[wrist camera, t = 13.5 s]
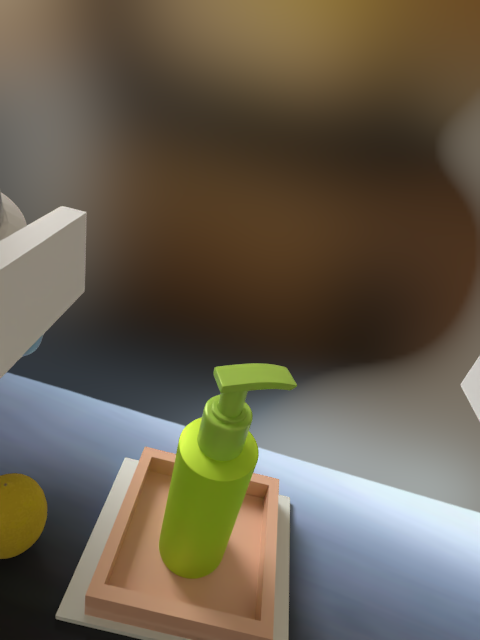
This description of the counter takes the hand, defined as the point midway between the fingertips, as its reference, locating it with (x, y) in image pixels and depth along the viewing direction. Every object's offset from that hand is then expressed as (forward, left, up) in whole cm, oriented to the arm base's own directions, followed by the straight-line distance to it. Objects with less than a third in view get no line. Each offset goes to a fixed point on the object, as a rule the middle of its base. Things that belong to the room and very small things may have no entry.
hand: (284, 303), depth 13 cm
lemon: (-15, +7, -32) cm, 36 cm away
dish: (0, +10, -31) cm, 33 cm away
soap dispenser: (0, +10, -31) cm, 32 cm away
